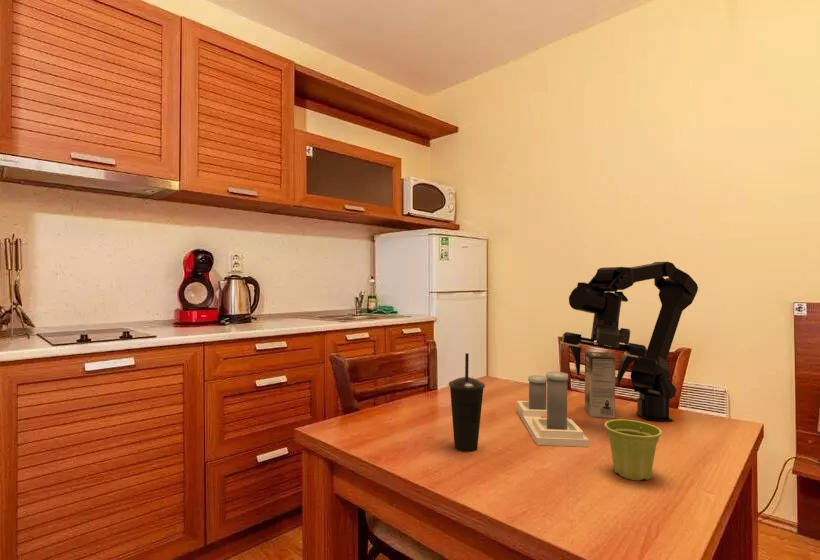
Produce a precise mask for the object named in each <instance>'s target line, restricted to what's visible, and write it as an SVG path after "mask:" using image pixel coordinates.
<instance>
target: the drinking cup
mask: <svg viewBox="0 0 820 560" xmlns="http://www.w3.org/2000/svg"><path fill="white" fill-rule="evenodd" d="M469 356H470V355H469V353H467V352H466V353H465V356H464V357H465V358H464V359H465V363H464V364H465V367H464V369H465V371H464V372H465V374H464V376H463V377H462V376H461V377H458V378H455V379H453V380H450V381H448V387H449V388H450V389H449V393H450V401H451V402H450V403H451V404H450V405H451V418H452V419H451V420H452V428H453V429H452V430H453V431H452V432H453V442H454V449H456V450H457V451H459V452H465V453H466V452H467V453H469V452H475V451H477V450H478V446H479V437H480V436H479V435H480V426H481V425H480V424H481V416H482V415H481V414H482V405H483V395H484V388H485V387H486V384H485V382H482V381H480V380H479V379H477V378H474V377H469V364H470V363H469V361H470V360H469V358H470V357H469Z"/></svg>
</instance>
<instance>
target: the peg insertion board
mask: <svg viewBox="0 0 820 560" xmlns="http://www.w3.org/2000/svg"><path fill="white" fill-rule="evenodd" d="M527 381H528V400H517V401H516V413H517V412H518V413H517V414H518V416H519V417H521V418H520V419H521V421H522V422H523V424H524V426H525V428H526V429H527V431H528V432H529V434H530V436H531V437H532V439H533V441H534V442H535V444H536V445H537V446H553V447H557V446H558V447H559V446H560V447H583V448H584V447H585V448H589V447H590V445H589V444H590V440H589V438H587V436H586V435H585V434H584V431H583V430H582V429H581V427H579V426H578V425H577V424H576V423H575V421H574V420H573V419H571V418H569V417H568V416H567V430H556V429H547V378H546V375H545V376H543V375H536V374H535V375H528V379H527Z"/></svg>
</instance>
